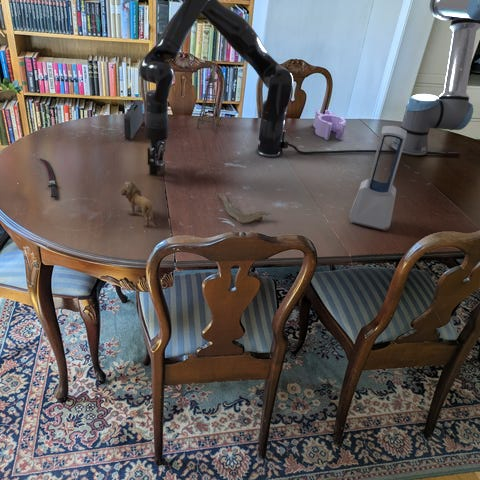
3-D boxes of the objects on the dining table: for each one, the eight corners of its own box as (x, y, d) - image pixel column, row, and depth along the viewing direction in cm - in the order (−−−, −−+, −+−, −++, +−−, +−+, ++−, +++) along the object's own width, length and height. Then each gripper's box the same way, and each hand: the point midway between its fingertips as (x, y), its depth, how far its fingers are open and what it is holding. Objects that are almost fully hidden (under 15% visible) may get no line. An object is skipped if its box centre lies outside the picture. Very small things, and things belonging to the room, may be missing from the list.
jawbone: (251, 231, 136) (251, 225, 134) (200, 206, 146) (200, 200, 145) (270, 218, 141) (270, 213, 140) (219, 195, 152) (219, 189, 150)
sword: (61, 197, 141) (61, 193, 140) (50, 198, 139) (50, 194, 139) (49, 160, 164) (48, 156, 163) (39, 160, 163) (39, 157, 162)
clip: (307, 123, 221) (309, 109, 217) (331, 124, 223) (334, 110, 219) (321, 139, 204) (324, 124, 201) (347, 140, 207) (350, 125, 203)
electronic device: (389, 222, 147) (418, 130, 131) (388, 233, 141) (417, 138, 125) (350, 212, 150) (373, 122, 134) (347, 223, 144) (370, 129, 127)
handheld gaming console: (136, 121, 202) (136, 98, 197) (143, 121, 202) (142, 98, 197) (123, 140, 183) (122, 115, 178) (130, 141, 183) (130, 116, 178)
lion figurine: (118, 210, 138) (116, 182, 133) (132, 204, 141) (131, 177, 137) (151, 229, 130) (150, 201, 126) (165, 223, 134) (165, 195, 129)
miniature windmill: (214, 131, 201) (219, 58, 184) (195, 128, 202) (199, 55, 185) (219, 124, 208) (224, 54, 192) (201, 122, 209) (205, 51, 193)
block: (152, 170, 163) (152, 159, 161) (164, 171, 163) (164, 160, 161) (149, 175, 160) (149, 163, 158) (161, 176, 160) (161, 165, 157)
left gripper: (151, 115, 158) (151, 160, 167) (138, 129, 146) (140, 177, 155) (173, 118, 158) (172, 163, 167) (162, 132, 146) (162, 180, 155)
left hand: (156, 169), depth 161 cm, fingers open, 7 cm apart
